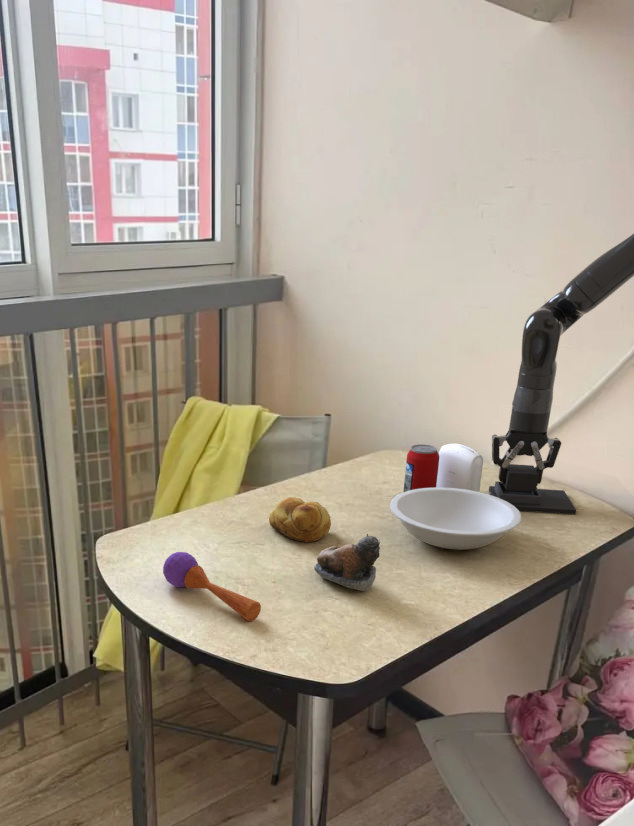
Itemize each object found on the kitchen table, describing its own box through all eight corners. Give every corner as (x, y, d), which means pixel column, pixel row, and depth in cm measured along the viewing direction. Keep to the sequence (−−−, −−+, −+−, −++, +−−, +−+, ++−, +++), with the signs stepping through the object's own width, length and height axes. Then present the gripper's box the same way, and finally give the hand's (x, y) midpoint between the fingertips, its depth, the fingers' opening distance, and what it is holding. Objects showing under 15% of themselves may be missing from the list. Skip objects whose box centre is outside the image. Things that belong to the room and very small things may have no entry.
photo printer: (431, 495, 171) (437, 441, 166) (444, 491, 173) (451, 438, 168) (466, 509, 163) (474, 453, 158) (480, 505, 165) (488, 450, 160)
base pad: (563, 494, 172) (565, 482, 171) (575, 514, 161) (578, 502, 160) (488, 490, 174) (490, 478, 173) (496, 509, 164) (498, 497, 162)
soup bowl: (543, 549, 145) (549, 517, 142) (451, 579, 134) (456, 544, 131) (449, 509, 164) (453, 479, 161) (361, 532, 152) (364, 500, 150)
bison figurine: (306, 578, 134) (308, 524, 130) (332, 565, 138) (335, 513, 134) (362, 602, 126) (366, 546, 122) (387, 588, 131) (392, 533, 126)
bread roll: (258, 530, 153) (258, 492, 150) (291, 517, 159) (293, 480, 156) (306, 550, 144) (308, 510, 141) (340, 536, 150) (342, 497, 147)
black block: (530, 482, 169) (533, 465, 167) (535, 492, 164) (538, 474, 162) (501, 481, 170) (504, 463, 168) (505, 490, 164) (508, 472, 163)
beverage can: (406, 493, 172) (412, 441, 167) (437, 498, 169) (443, 446, 164) (399, 503, 166) (404, 450, 162) (430, 508, 164) (436, 454, 159)
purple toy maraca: (238, 606, 116) (153, 556, 129) (241, 636, 120) (158, 584, 132) (265, 587, 120) (180, 540, 132) (267, 616, 123) (184, 568, 135)
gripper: (498, 410, 157) (486, 488, 164) (572, 413, 155) (557, 492, 162) (493, 401, 164) (482, 476, 171) (564, 404, 162) (550, 480, 169)
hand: (518, 483), depth 166 cm, fingers closed on black block, 6 cm apart
